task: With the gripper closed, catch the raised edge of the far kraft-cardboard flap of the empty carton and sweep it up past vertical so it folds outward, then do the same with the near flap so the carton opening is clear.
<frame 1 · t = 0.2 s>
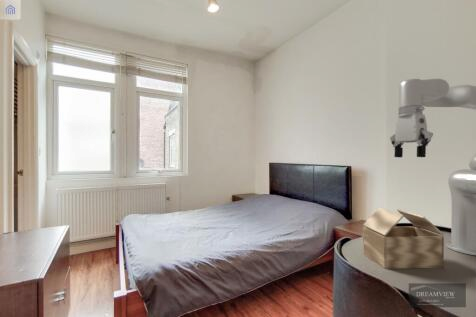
hand: (409, 157, 91), 36 cm above the table, tool pointing down, fingers open, 9 cm apart
medicine bottle: (377, 246, 96), on the table
carton: (400, 260, 83), on the table
far flap: (382, 220, 82), point 14 cm above the table, hinge at 45.0°
near flap: (418, 221, 83), point 14 cm above the table, hinge at 40.0°
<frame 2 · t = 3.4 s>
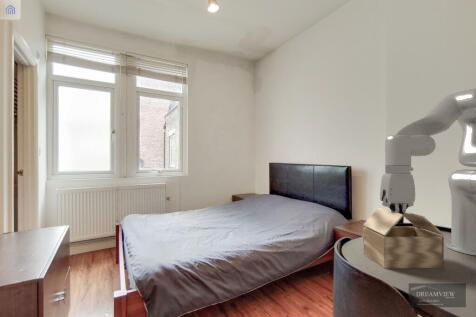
hand: (397, 223, 83), 13 cm above the table, tool pointing down, fingers closed
far flap: (381, 220, 82), point 14 cm above the table, hinge at 46.4°, touching gripper
everything else where it was.
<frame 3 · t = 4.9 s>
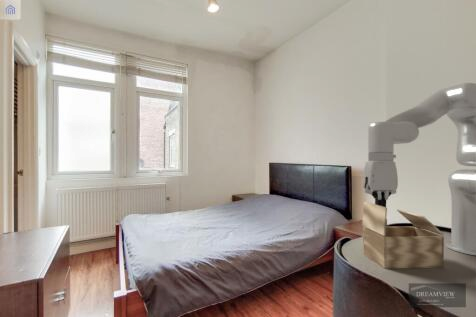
hand: (380, 210, 82), 17 cm above the table, tool pointing down, fingers closed
far flap: (373, 217, 82), point 15 cm above the table, hinge at 86.1°, touching gripper
everything else where it was.
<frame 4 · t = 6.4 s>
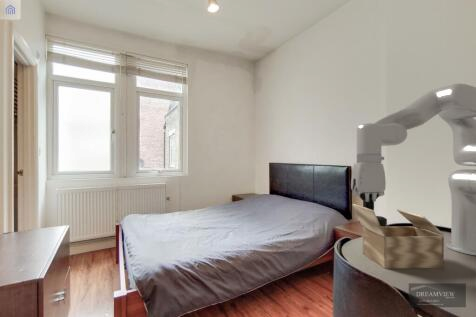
hand: (368, 212, 82), 17 cm above the table, tool pointing down, fingers closed
far flap: (367, 218, 82), point 14 cm above the table, hinge at 115.0°, touching gripper
everything else where it was.
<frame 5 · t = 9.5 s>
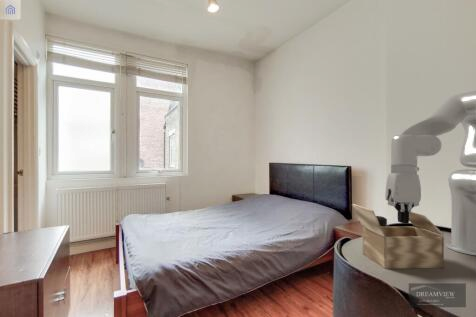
hand: (403, 222, 83), 13 cm above the table, tool pointing down, fingers closed
far flap: (367, 218, 82), point 14 cm above the table, hinge at 115.3°
near flap: (419, 220, 83), point 14 cm above the table, hinge at 42.4°, touching gripper
everything else where it was.
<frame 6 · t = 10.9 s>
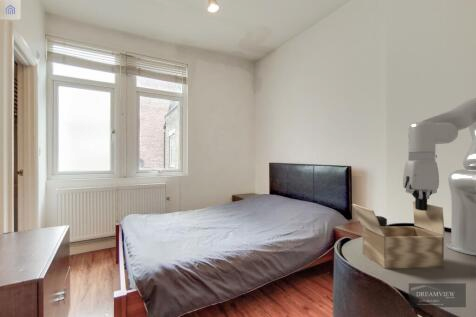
hand: (421, 209, 83), 18 cm above the table, tool pointing down, fingers closed
near flap: (427, 217, 84), point 15 cm above the table, hinge at 85.5°, touching gripper
everything else where it was.
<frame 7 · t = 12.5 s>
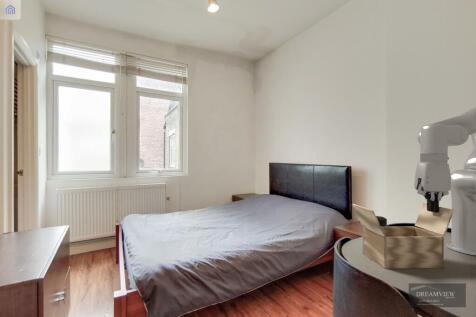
hand: (432, 211, 84), 17 cm above the table, tool pointing down, fingers closed
near flap: (433, 218, 84), point 15 cm above the table, hinge at 111.4°, touching gripper
everything else where it was.
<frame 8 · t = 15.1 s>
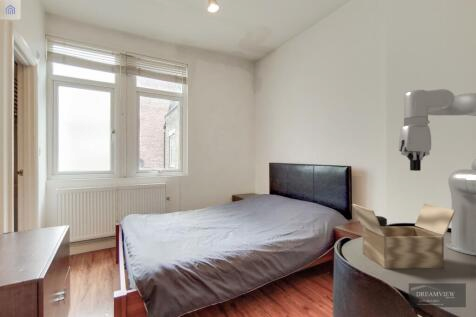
hand: (415, 170, 92), 31 cm above the table, tool pointing down, fingers closed
near flap: (433, 218, 84), point 14 cm above the table, hinge at 114.5°
everything else where it was.
at the end: far flap at +115° (first picture: +45°); near flap at +114° (first picture: +40°) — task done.
